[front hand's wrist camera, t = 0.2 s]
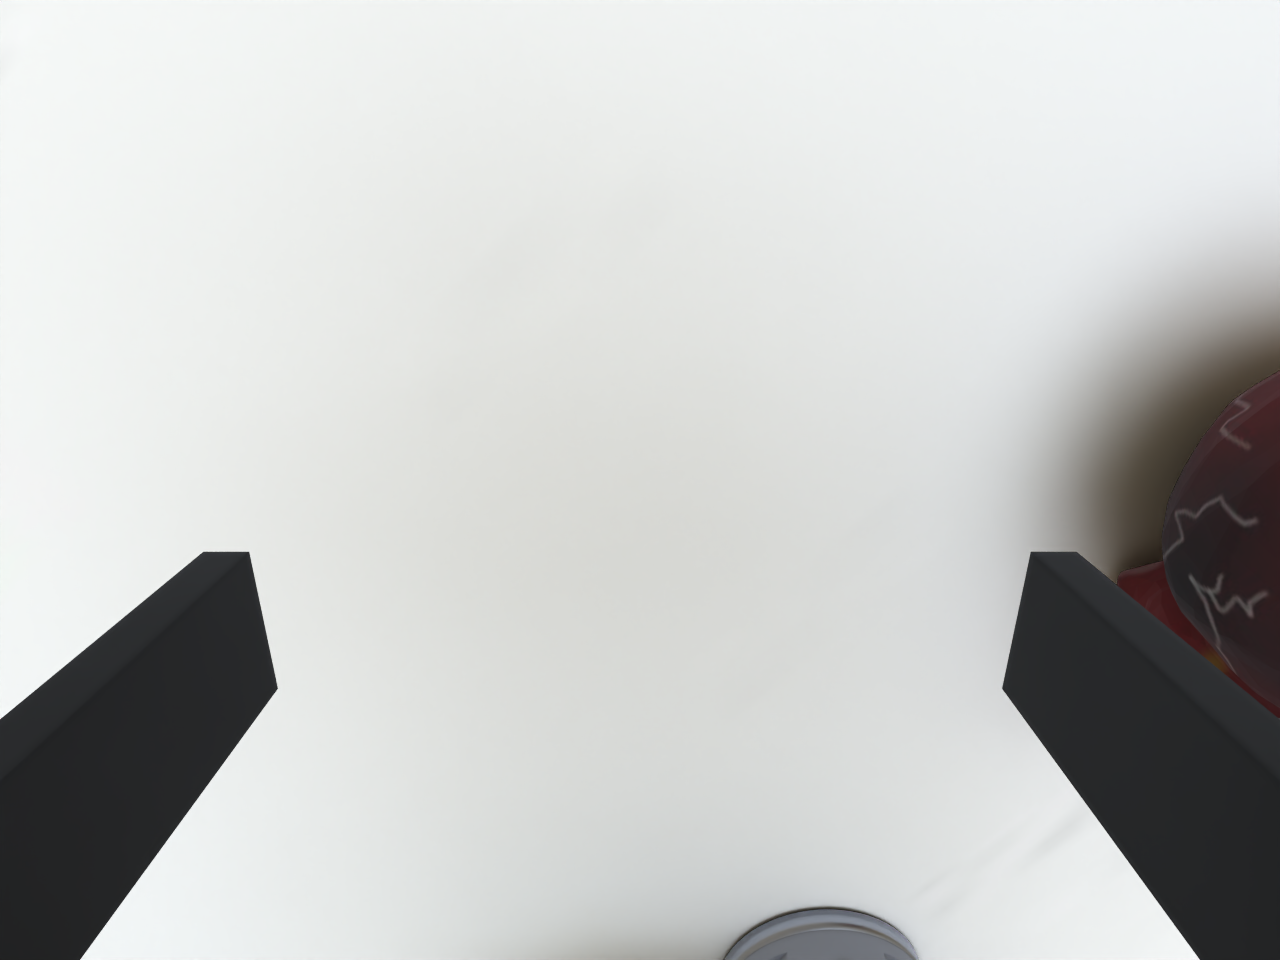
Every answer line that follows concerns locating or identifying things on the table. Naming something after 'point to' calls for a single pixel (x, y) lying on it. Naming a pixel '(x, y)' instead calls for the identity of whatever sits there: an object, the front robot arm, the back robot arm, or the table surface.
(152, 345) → the table surface
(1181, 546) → the dark red pot
